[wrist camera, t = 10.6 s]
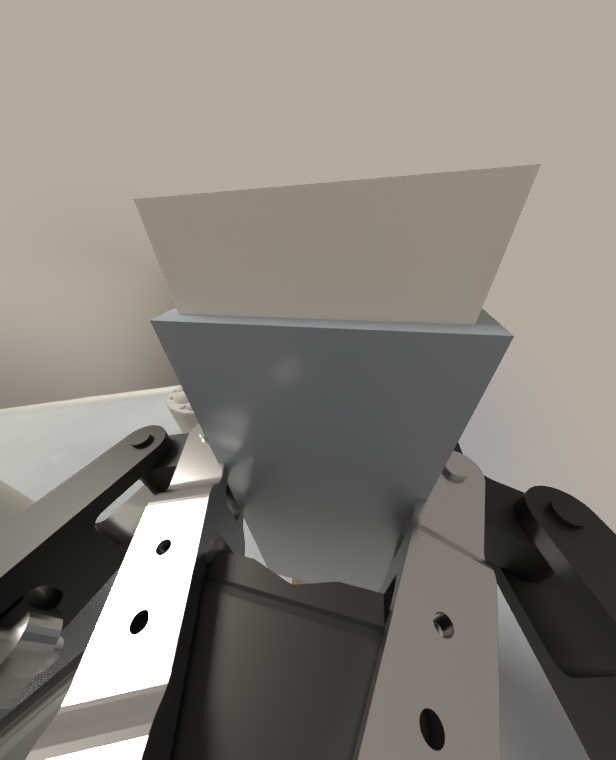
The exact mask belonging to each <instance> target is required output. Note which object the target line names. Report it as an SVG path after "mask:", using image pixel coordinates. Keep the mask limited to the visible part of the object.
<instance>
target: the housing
mask: <svg viewBox="0 0 616 760" xmlns="http://www.w3.org/2000/svg"><path fill="white" fill-rule="evenodd" d="M539 167H540V164H537V165H527V166H515V167H503V168H492V169H480V170H468V171H456V172H445V173H434V174H421V175H410V176H398V177H387V178H375V179H364V180H352V181H340V182H329V183H317V184H305V185H294V186H283V187H271V188H259V189H248V190H236V191H224V192H213V193H201V194H190V195H178V196H166V197H155V198H143V199H134V201H135V204H136V206H137V209H138V211H139V214H140V216H141V219H142V221H143V224H144V226H145V229H146V231H147V234H148V237H149V239H150V242H151V244H152V246H153V249H154V252H155V254H156V257H157V260H158V262H159V265H160V267H161V270H162V273H163V275H164V278H165V280H166V283H167V285H168V288H169V290H170V293H171V296H172V298H173V301H174V303H175V306H176V308H174V309H172V310H170V311H168V312H166V313H164V314H162V315H160V316H158V317H156V318H154V319H152V320H151V323H152V325H153V328H154V330H155V332H156V334H157V336H158V338H159V340H160V342H161V344H162V346H163V349H164V351H165V353H166V355H167V357H168V359H169V361H170V363H171V365H172V367H173V369H174V372H175V374H176V376H177V378H178V380H179V382H180V384H181V386H182V389H183V391H184V393H185V395H186V397H187V399H188V401H189V403H190V405H191V407H192V410H193V412H194V414H195V416H196V418H197V420H198V422H199V424H200V426H201V428H202V431H203V433H204V435H205V437H206V439H207V441H208V443H209V445H210V447H211V449H212V452H213V454H214V456H215V458H216V460H217V462H222V463H225V466H226V468H227V470H228V472H229V474H228V480H227V483H228V485H229V487H230V489H231V492H232V494H233V496H234V498H235V499H236V500H241V501H242V504H243V506H244V516H243V517H244V519H245V521H246V523H247V525H248V527H249V529H250V531H251V534H252V536H253V538H254V540H255V542H256V544H257V546H258V548H259V550H260V553H261V555H262V557H263V559H264V561H265V563H266V565H267V567H268V569H269V570H271V571H272V572H274V573H275V574H279V575H283V576H286V577H290V578H294V579H297V580H301V581H305V582H308V583H324V582H337V581H338V582H342V583H346V584H350V585H353V586H357V587H361V588H365V589H368V590H372V591H376V592H378V591H379V589H380V588H381V586H382V584H383V582H384V580H385V577H386V574H387V571H388V569H389V566H390V563H391V560H392V556H393V553H394V549H395V545H396V542H397V539H398V537H399V535H405V534H406V531H407V527H408V524H409V520H410V516H411V512H412V508H413V506H414V504H415V502H416V499H417V498H422V499H428V497H429V495H430V493H431V492H432V490H433V488H434V486H435V484H436V482H437V480H438V478H439V476H440V475H441V473H442V471H443V469H444V467H445V465H446V463H447V461H448V460H449V458H450V456H451V454H452V452H453V450H454V448H455V446H456V444H457V443H458V441H459V439H460V437H461V435H462V433H463V431H464V429H465V428H466V425H467V424H468V422H469V420H470V418H471V416H472V414H473V412H474V410H475V408H476V407H477V405H478V403H479V401H480V399H481V397H482V396H483V394H484V392H485V390H486V388H487V386H488V384H489V382H490V380H491V379H492V377H493V375H494V373H495V371H496V369H497V367H498V365H499V364H500V362H501V360H502V358H503V356H504V354H505V352H506V350H507V348H508V347H509V344H510V343H511V341H512V339H513V337H514V335H512V334H511V333H510V332H509V331H508V330H506V329H505V328H504V327H503V326H502V325H500V323H498V322H497V321H496V320H495V319H494V318H492V317H491V316H490V315H489V314H488V313H487V312H486V311H484V310H483V309H482V307H483V304H484V302H485V299H486V297H487V294H488V292H489V290H490V287H491V285H492V282H493V280H494V277H495V275H496V273H497V270H498V268H499V265H500V262H501V260H502V258H503V255H504V253H505V250H506V248H507V246H508V243H509V241H510V238H511V236H512V233H513V231H514V228H515V226H516V223H517V221H518V219H519V216H520V214H521V211H522V208H523V206H524V204H525V201H526V199H527V197H528V194H529V191H530V189H531V187H532V184H533V182H534V179H535V177H536V174H537V172H538V170H539Z"/></svg>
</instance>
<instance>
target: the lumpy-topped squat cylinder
mask: <svg viewBox="0 0 616 760" xmlns="http://www.w3.org/2000/svg"><path fill="white" fill-rule="evenodd" d="M166 404H167V406H168V408H169V410H170V412H171V413H172V415H173V417H174V419H175V420H176V422H177V424H178V426H179V428H180V429H181V431H182V433H183V434H185V433H190V432H191V430H192V429H193V428H194V427H195V426H196V425H198V424H199V422H198V420H197V418H196V416H195V414H194V412H193V410H192V407H191V405H190V403H189V401H188V399H187V397H186V395H185V393H184V391H183V389H182V386H180V387H178V388H176V389H175V390H173V391H172V392H171V393H170V394H169V395H168V396H167V398H166Z"/></svg>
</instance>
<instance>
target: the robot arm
mask: <svg viewBox="0 0 616 760" xmlns="http://www.w3.org/2000/svg"><path fill="white" fill-rule="evenodd" d="M228 474H229V472H228V470H227V468H226V466H225V463H222V462H217V460H216V458H215V456H214V454H213V452H212V449H211V447H210V445H209V443H208V441H207V439H206V437H205V435H204V433H203V431H202V428H201V426H200V424H198V425H196V426H195V427H194V428H193V429H192V430H191V432H190V433H185V434H177V435H170V436H168V434H167V433H166V431H165V430H164V428H163V427H161V426H156V425H152V426H147V427H143V428H141V429H138V430H136V431H135V432H133V433H131V434H130V435H128V436H127V437H126V438H124V439H123V440H121V441H120V442H119V443H117V444H116V445H115V446H113V447H112V448H110V449H109V450H108V451H106V452H105V453H103V454H102V455H101V456H99V457H98V458H97V459H95V460H94V461H92V462H91V463H90V464H88V465H87V466H85V467H84V468H83V469H81V470H80V471H78V472H77V473H76V474H74V475H73V476H72V477H70V478H69V479H67V480H66V481H65V482H63V483H62V484H60V485H59V486H58V487H56V488H55V489H53V490H52V491H51V492H49V493H48V494H47V495H45V496H44V497H42V498H41V499H40V500H38V501H37V502H34V501H33V500H31V499H30V498H28V497H27V496H25V495H23V494H22V493H20V492H19V491H17V490H15V489H14V488H12V487H11V486H9V485H8V484H6V483H4V482H3V481H1V480H0V760H500V713H499V658H498V603H497V584H498V586H499V588H500V590H501V592H502V593H503V595H504V597H505V599H506V601H507V603H508V605H509V607H510V608H511V610H512V612H513V614H514V616H515V618H516V620H517V622H518V624H519V625H520V627H521V629H522V631H523V633H524V635H525V637H526V639H527V641H528V642H529V644H530V646H531V648H532V650H533V652H534V654H535V656H536V658H537V659H538V661H539V663H540V665H541V667H542V669H543V671H544V673H545V674H546V676H547V678H548V680H549V682H550V684H551V686H552V688H553V690H554V691H555V693H556V695H557V697H558V699H559V701H560V703H561V705H562V707H563V708H564V710H565V712H566V714H567V716H568V718H569V720H570V722H571V724H572V725H573V727H574V729H575V731H576V733H577V735H578V737H579V739H580V741H581V742H582V744H583V746H584V748H585V750H586V752H587V754H588V756H589V757H590V759H591V760H616V534H615V533H614V532H613V531H612V530H611V529H610V528H609V527H608V526H607V525H606V524H605V523H604V522H603V521H602V520H601V519H600V518H599V517H598V516H597V515H596V514H595V513H594V512H593V511H592V510H591V509H590V508H588V507H587V506H586V505H585V504H583V503H582V502H580V501H579V500H578V499H576V498H574V497H573V496H571V495H569V494H567V493H565V492H563V491H560V490H558V489H555V488H551V487H547V486H534V487H532V488H530V489H529V490H528V491H527V492H525V493H523V492H521V491H519V490H516V489H514V488H511V487H509V486H506V485H504V484H500V483H498V482H496V481H494V480H491V479H489V478H488V477H486V476H484V475H483V473H482V471H481V470H480V468H479V467H478V466H477V465H476V464H475V463H474V462H473V461H472V460H471V459H469V458H468V457H466V456H464V455H463V453H462V451H461V449H460V446H459V443H457V444H456V446H455V448H454V450H453V452H452V454H451V456H450V458H449V460H448V461H447V463H446V465H445V467H444V469H443V471H442V473H441V475H440V476H439V478H438V480H437V482H436V484H435V486H434V488H433V490H432V492H431V493H430V495H429V497H428V499H422V498H417V499H416V502H415V504H414V506H413V508H412V512H411V516H410V520H409V524H408V527H407V531H406V534H405V535H399V537H398V539H397V542H396V545H395V549H394V553H393V556H392V560H391V563H390V566H389V569H388V571H387V574H386V577H385V580H384V584H383V587H382V590H381V593H380V592H376V591H372V590H368V589H365V588H361V587H357V586H353V585H350V584H346V583H342V582H338V581H337V582H324V583H310V584H297V585H295V584H290V583H288V582H287V581H285V580H284V579H282V578H281V577H279V576H278V575H277V574H275V573H274V572H272V571H271V570H269V569H268V568H266V567H265V566H264V565H262V564H261V563H259V562H258V561H256V560H255V559H252V558H248V557H244V555H245V540H244V533H243V516H244V506H243V504H242V501H241V500H236V499H235V498H234V496H233V494H232V492H231V489H230V487H229V485H228V483H227V480H228ZM138 479H140V480H141V481H142V482H143V483H144V486H142V487H141V488H140V489H139V490H138V491H137V492H136V493H135V494H134V495H133V496H132V497H131V498H129V499H128V500H127V501H126V502H125V503H124V504H123V505H122V506H121V507H120V508H119V509H118V510H116V511H115V512H114V513H113V514H112V515H111V516H110V517H109V518H107V519H106V520H104V521H102V522H100V523H95V521H96V519H97V517H98V516H99V515H100V513H101V512H102V511H104V510H105V509H106V508H107V507H108V506H109V505H110V504H111V503H113V502H114V501H115V500H116V499H117V498H118V497H119V496H120V495H122V494H123V493H124V492H125V491H126V490H127V489H128V488H129V487H131V486H132V485H133V484H134V483H135V482H136V481H137V480H138ZM121 565H122V566H121ZM120 566H121V568H120V571H119V573H118V575H117V578H116V580H115V582H114V585H113V587H112V590H111V592H110V594H109V597H108V599H107V601H106V604H105V606H104V608H103V611H102V613H101V616H100V618H99V620H98V623H97V625H96V627H95V630H94V632H93V634H92V637H91V639H90V641H89V644H88V646H87V649H86V650H85V651H83V652H82V653H81V654H80V655H79V656H77V657H76V658H75V659H74V660H72V661H71V662H70V663H69V664H68V665H66V666H65V667H64V668H63V669H62V670H60V671H59V672H58V673H57V674H56V675H54V676H53V677H52V678H51V679H49V680H48V681H47V682H46V683H45V684H43V685H42V686H41V687H40V688H39V689H37V690H36V691H35V692H34V693H33V694H31V695H30V696H29V697H28V698H27V699H25V700H24V701H23V702H22V703H20V704H19V705H18V706H17V704H18V702H19V700H20V698H21V696H22V694H23V693H24V691H25V689H26V688H27V686H28V685H29V683H30V682H31V680H32V679H33V677H34V676H35V675H36V673H41V672H44V671H45V670H47V669H48V668H49V667H50V666H51V665H52V664H53V663H54V662H55V661H56V660H57V658H58V657H59V655H60V654H61V652H62V649H63V646H64V639H63V638H62V637H60V634H61V632H62V630H63V629H64V628H65V627H66V626H67V625H68V624H69V623H70V622H71V620H72V619H73V618H74V617H75V616H76V615H77V614H78V613H79V612H80V611H81V609H82V608H83V607H84V606H85V605H86V604H87V603H88V602H89V601H90V599H91V598H92V597H93V596H94V595H95V594H96V593H97V592H98V591H99V590H100V588H101V587H102V586H103V585H104V584H105V583H106V582H107V581H108V580H109V578H110V577H111V576H112V575H113V574H114V573H115V572H116V571H117V570H118V569H119V567H120ZM16 706H17V707H16Z"/></svg>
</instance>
